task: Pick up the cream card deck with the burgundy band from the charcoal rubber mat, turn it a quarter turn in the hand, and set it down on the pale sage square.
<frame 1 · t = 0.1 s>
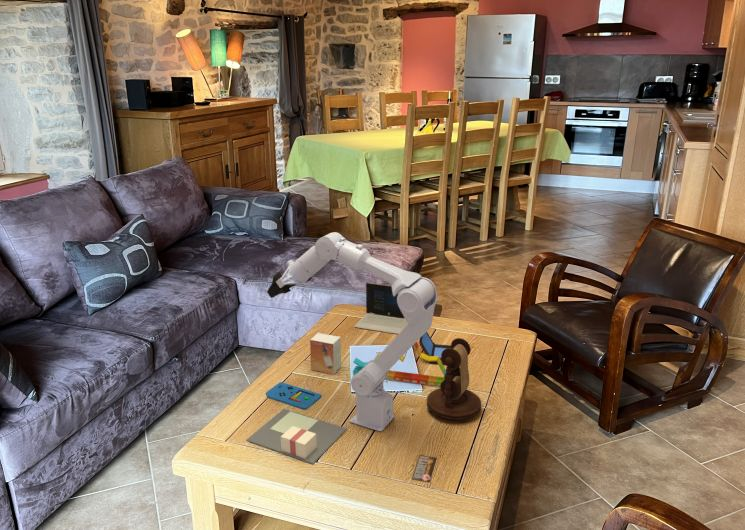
hand: (278, 289, 164), 32 cm above the table, tool tilted 50°, fingers open, 7 cm apart
scroll: (453, 409, 167), on the table
handheld gaming device: (292, 397, 174), on the table
card deck: (299, 448, 150), resting on mat
laptop: (383, 325, 219), on the table
small box: (326, 369, 189), on the table
chart: (403, 381, 182), on the table
handheld game console: (436, 356, 197), on the table
mat: (297, 435, 156), on the table
chocolate bar: (424, 470, 144), on the table
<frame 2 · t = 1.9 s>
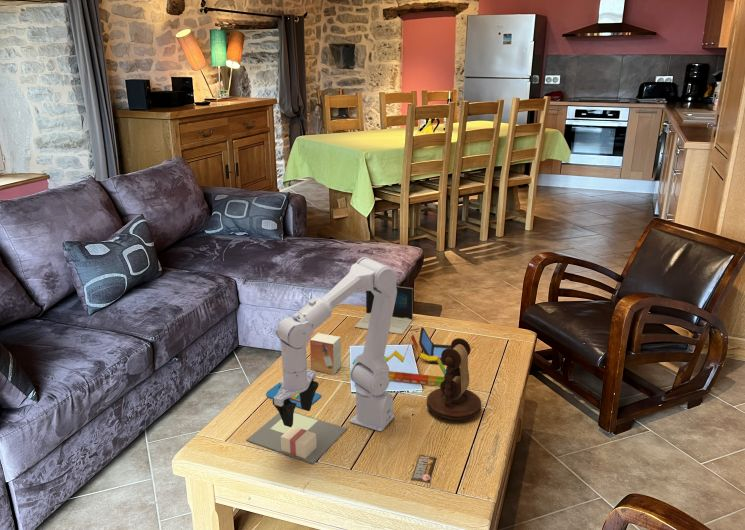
hand: (297, 417, 147), 9 cm above the table, tool pointing down, fingers open, 7 cm apart
nothing on the table moved.
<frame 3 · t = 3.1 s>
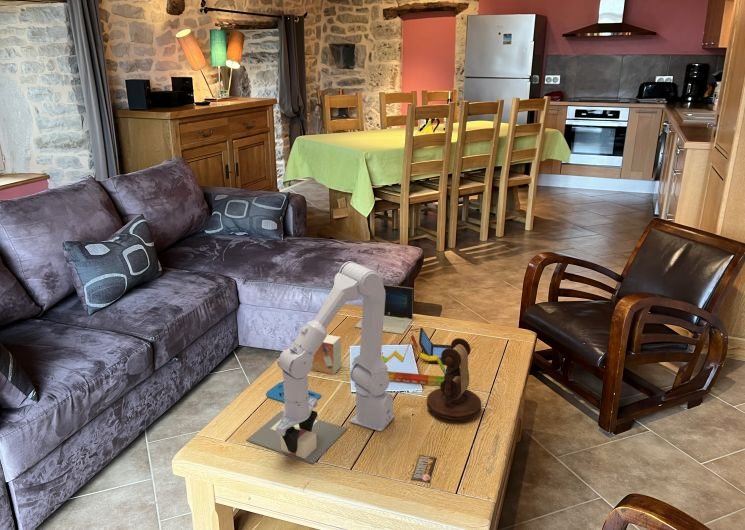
hand: (298, 444, 149), 2 cm above the table, tool pointing down, fingers closed on card deck, 5 cm apart
card deck: (299, 448, 150), resting on mat, touching gripper
everything else where it was.
when the fingers open (3 cm above the table, at t = 7.4 s): card deck drops 1 cm, resting on mat.
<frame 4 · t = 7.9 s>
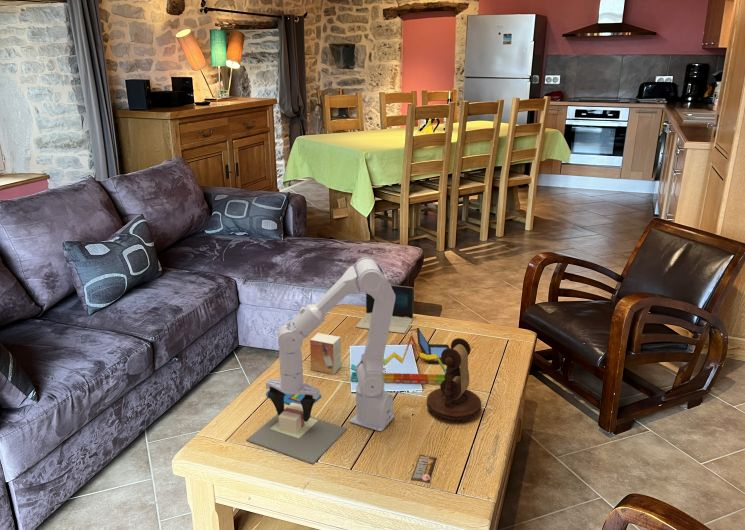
hand: (293, 416, 159), 3 cm above the table, tool pointing down, fingers open, 7 cm apart
card deck: (294, 424, 159), point 1 cm above the table, touching mat
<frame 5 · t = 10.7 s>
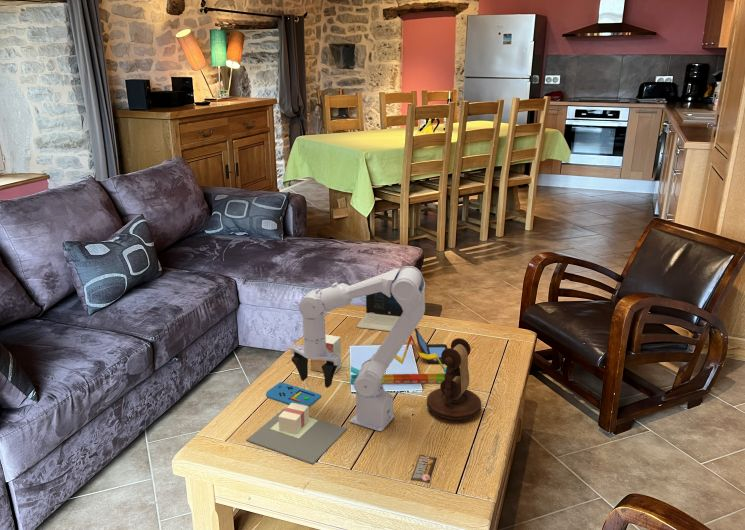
hand: (316, 382, 162), 9 cm above the table, tool pointing down, fingers open, 7 cm apart
at the end: card deck 0.0 cm from the target spot, point 0.5 cm above the table; card deck tilted 0°; the gripper is holding nothing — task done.
